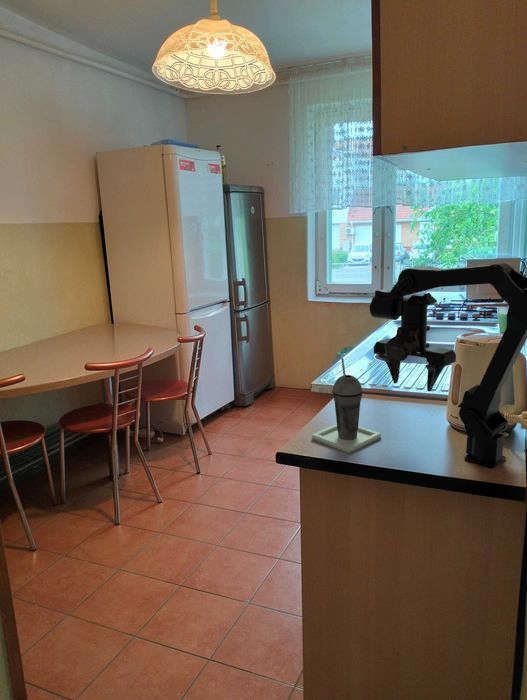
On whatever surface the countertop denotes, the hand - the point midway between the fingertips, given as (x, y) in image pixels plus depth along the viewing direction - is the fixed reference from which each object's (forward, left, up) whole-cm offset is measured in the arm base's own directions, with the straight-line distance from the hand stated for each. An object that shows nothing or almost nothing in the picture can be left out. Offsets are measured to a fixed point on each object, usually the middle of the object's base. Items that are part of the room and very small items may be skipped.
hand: (412, 386), depth 124 cm
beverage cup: (+11, +11, -13) cm, 20 cm away
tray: (+11, +11, -13) cm, 20 cm away
